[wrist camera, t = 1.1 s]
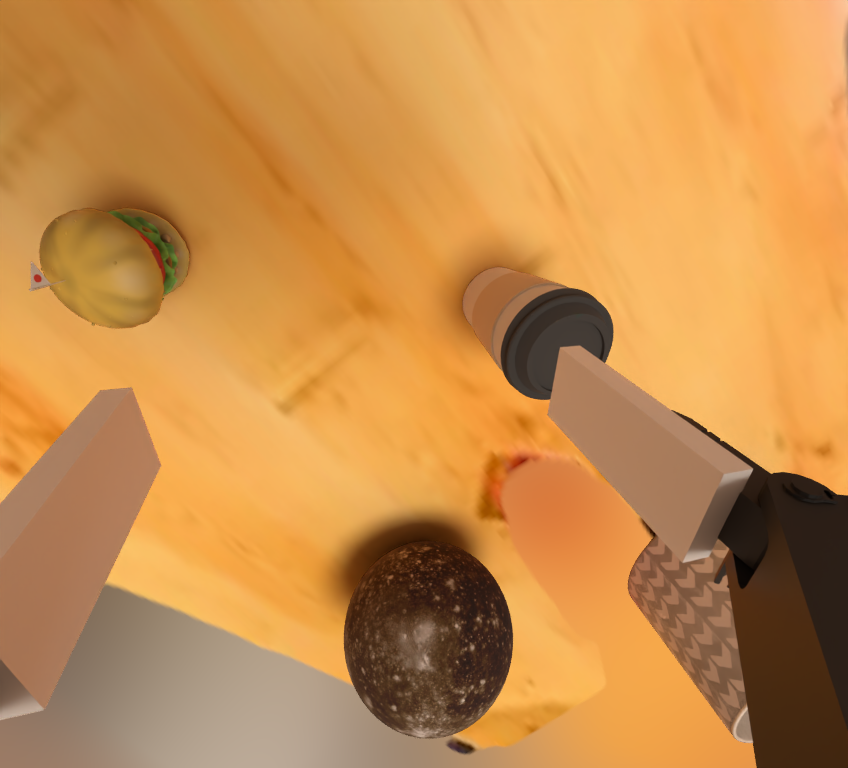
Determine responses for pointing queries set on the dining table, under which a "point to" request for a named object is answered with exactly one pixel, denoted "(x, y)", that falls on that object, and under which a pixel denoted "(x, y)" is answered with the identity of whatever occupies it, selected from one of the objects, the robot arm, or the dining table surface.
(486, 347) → the coffee cup
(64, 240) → the hamburger
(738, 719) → the planter
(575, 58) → the dining table surface
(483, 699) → the decorative sphere
